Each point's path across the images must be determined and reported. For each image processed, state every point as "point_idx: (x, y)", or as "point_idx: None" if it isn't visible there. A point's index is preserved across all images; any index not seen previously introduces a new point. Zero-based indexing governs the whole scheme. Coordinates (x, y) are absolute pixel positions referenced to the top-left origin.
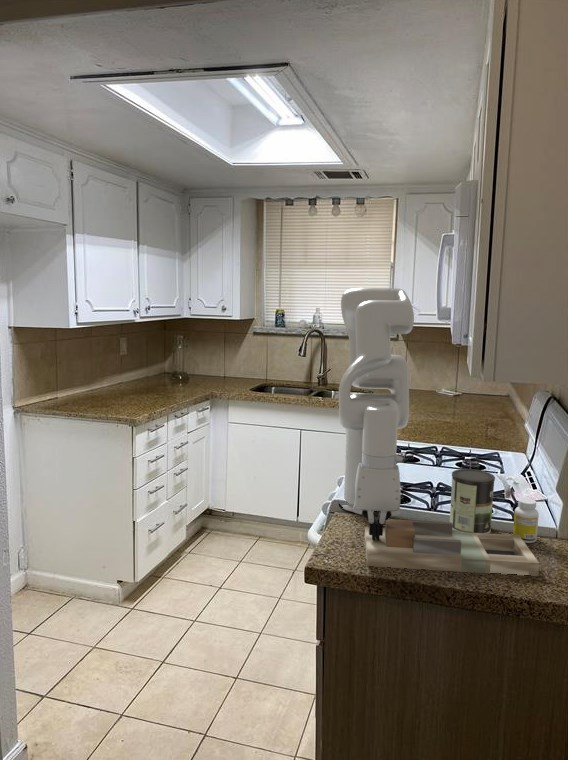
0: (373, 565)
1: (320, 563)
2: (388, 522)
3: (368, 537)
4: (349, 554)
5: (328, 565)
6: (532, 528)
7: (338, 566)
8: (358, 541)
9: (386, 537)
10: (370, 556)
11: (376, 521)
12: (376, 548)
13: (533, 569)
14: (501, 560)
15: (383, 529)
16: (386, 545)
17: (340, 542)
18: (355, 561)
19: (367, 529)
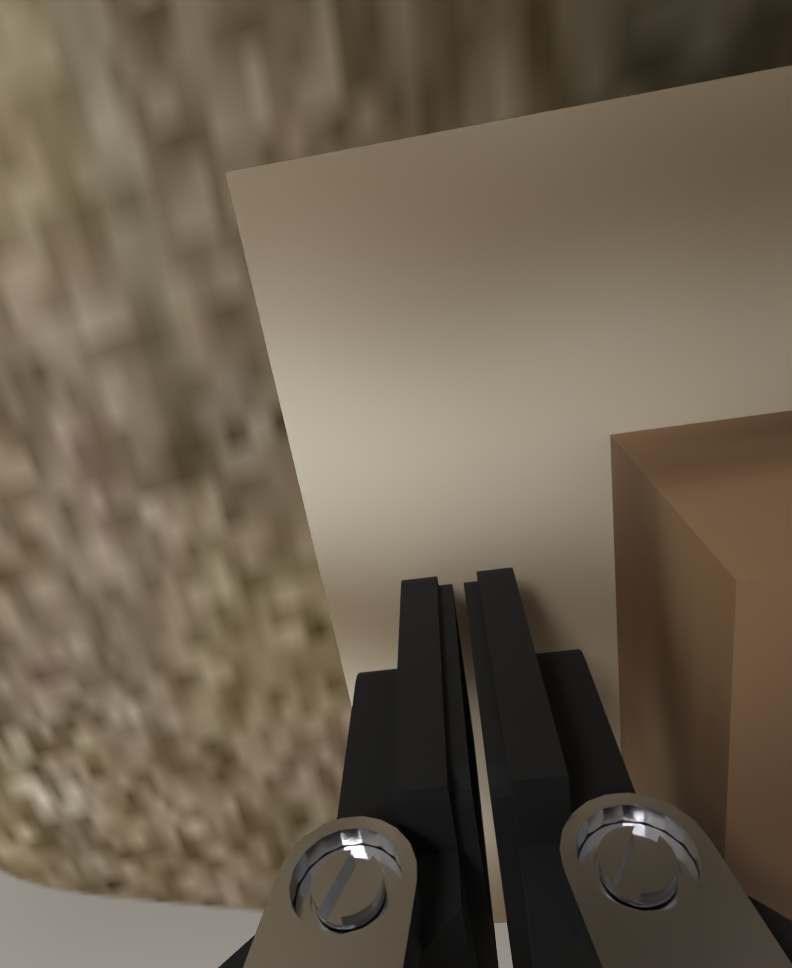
0: None
1: (13, 839)
2: (780, 748)
3: (357, 571)
4: (199, 642)
5: (87, 852)
6: None
7: (170, 850)
8: (213, 291)
9: (642, 717)
10: None
11: (499, 863)
12: (492, 824)
13: None
14: None
15: (588, 181)
16: (617, 731)
17: (9, 388)
18: (289, 750)
19: (292, 272)
